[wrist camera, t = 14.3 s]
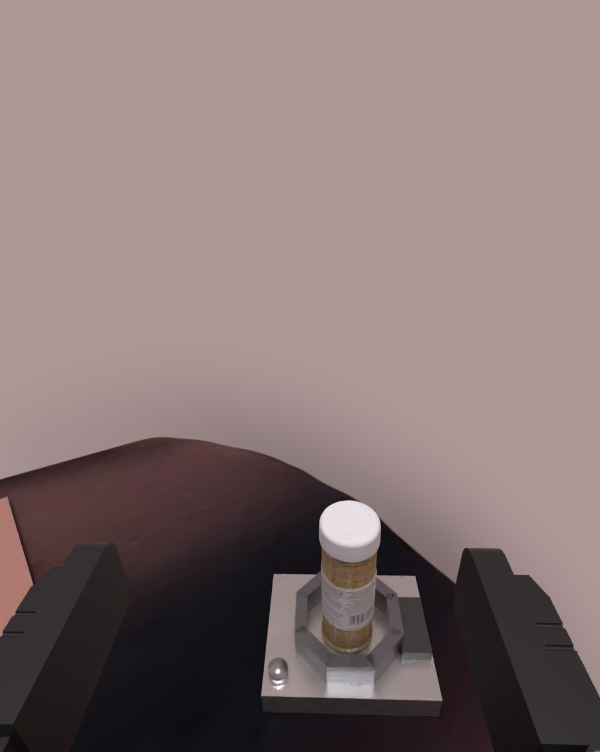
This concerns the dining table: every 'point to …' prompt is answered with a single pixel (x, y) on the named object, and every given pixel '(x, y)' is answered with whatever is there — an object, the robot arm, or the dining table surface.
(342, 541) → the sprinkles bottle
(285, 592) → the octagonal ring base plate
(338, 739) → the dining table surface
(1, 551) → the notebook
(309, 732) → the dining table surface
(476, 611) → the robot arm
